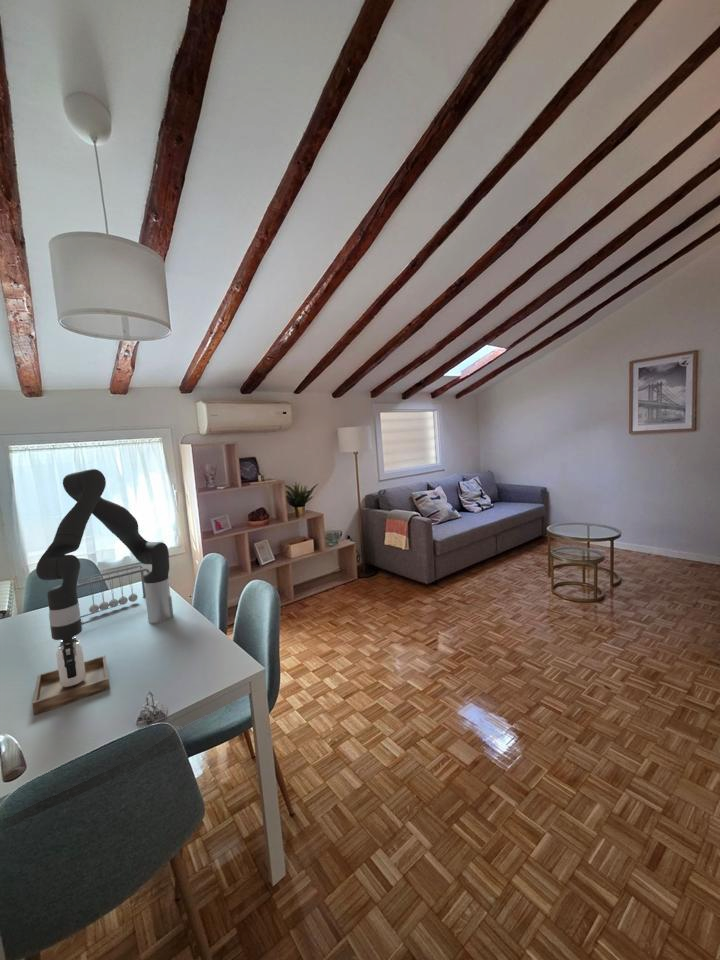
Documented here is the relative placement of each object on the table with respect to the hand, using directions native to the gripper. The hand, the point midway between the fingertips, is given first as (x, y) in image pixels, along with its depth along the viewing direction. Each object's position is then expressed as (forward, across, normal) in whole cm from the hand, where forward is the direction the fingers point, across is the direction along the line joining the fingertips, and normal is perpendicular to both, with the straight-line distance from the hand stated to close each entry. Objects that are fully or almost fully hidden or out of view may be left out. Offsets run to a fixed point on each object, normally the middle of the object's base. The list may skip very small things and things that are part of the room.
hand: (72, 672), depth 123 cm
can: (+3, 0, 0) cm, 3 cm away
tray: (+5, 0, 0) cm, 5 cm away
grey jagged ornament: (+5, -34, -16) cm, 38 cm away
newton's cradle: (+5, +63, -15) cm, 65 cm away
